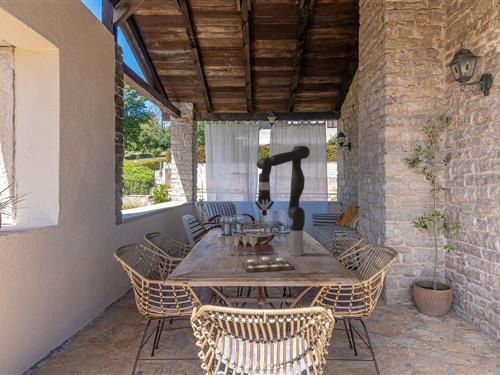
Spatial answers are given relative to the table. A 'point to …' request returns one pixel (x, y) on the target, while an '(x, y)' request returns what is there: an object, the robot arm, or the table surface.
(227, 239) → the goblet set
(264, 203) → the robot arm
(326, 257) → the table surface
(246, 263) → the button board
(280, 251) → the table surface
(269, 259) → the middle button
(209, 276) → the table surface
